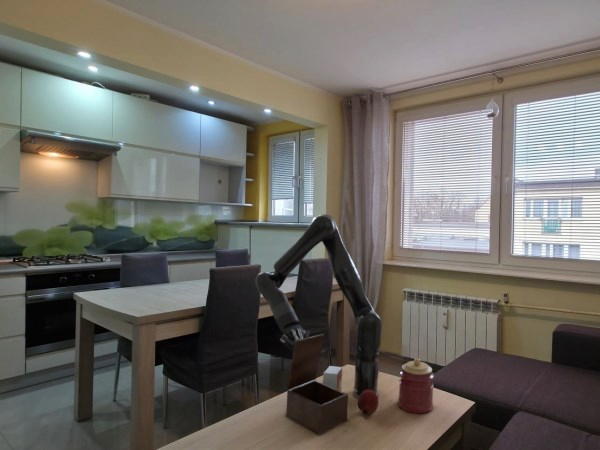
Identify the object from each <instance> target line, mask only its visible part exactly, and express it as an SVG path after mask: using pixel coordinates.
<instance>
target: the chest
mask: <svg viewBox="0 0 600 450" xmlns="http://www.w3.org/2000/svg"><path fill="white" fill-rule="evenodd" d="M286 394H287V395H286V414H285V416H286V417H287V418H289V419H290V420H292V421H294V422H296V423H298V424H300V425H301V426H303V427H305V428H307V429H309V430H310V431H312V432H314V433H315V434H317V435H322V434H324V433H326V432H327V431H330V430H331V429H333V428H336V427H337V426H339V425H341V424H342V423H344V422H346V421H348V407H349V405H348V404H349V394H348V393H347V392H344V391H342V390H341V391H339V390H337V389H335V388H332V387H330V386H328V385H325V384H323V382H321V381H318V380H316V379H315V380H312V381H309V382H307V383H304V384H301V385H299V386H296V387H293V388H291V389H287V393H286Z"/></svg>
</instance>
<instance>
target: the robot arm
mask: <svg viewBox="0 0 600 450" xmlns="http://www.w3.org/2000/svg"><path fill="white" fill-rule="evenodd" d="M321 243H322V244H323V246H324V248H325V250H326V254H327V256H328V260H329V265H330V268H331V272H332V274H333V276H334V278H335V281H336V284H337V285H338V287H339V289H340V290H341V292H342V294H343V295H344V297H345V299H346V300H347V301H348V303H349V305H350V308H351V310H352V313H353V316H354V319H355V322H356V325H357V342H356V345H355V365H354V382H353V383H354V384H353V385H354V386H353V396H354V397H355V398H356V399H358V398H359V396H360V395H361V393H362V392H363V391H365V390H372V391H374V392H375V393H376V395H377V396H378V385H379V383H378V382H379V363H380V348H381V344H382V342H381V341H382V329H383V328H382V327H383V325H382V323H383V322H382V319H381V317H380V316H379V315H378V313H377V312H376V311H375V309H374V308H373V306H372V304H371V302H370V301H369V299H368V297H367V295H366V291H365V289H364V284H363V281H362V279H361V278H362V277H361V276H360V273H359V271H358V269H357V267H356V265H355V263H354V261H353V259H352V257H351V255H350V253H349V252H348V249H347V247H346V246H345V244H344V242H343V240H342V237H341V234H340V231H339V229H338V225H337V223H336V220H335V218H333V217H332V215H330V214H326V213H324V214H323V213H322V214H320V215H317V216H315V217H314V218H313V219H312V220H311V223H310V224H309V226H308V227H307V229H306V230H305V231H304V232H303V234H302V235H301V237H300V238H299V239H297V241H296V242H295V243H293V245H292V246H290V248H288V249H287V250H286V251H284V253H283V254H282V255H281V256H280V257H279V258H278V259H277V260H276V261H275V262H274V264H273V269H274V270H273V272H272V273H271V272H267V271H262V272H259V273H257V275H256V277H255V281H254V282H255V287H256V289H257V291H258V292H259V293H260V294H261V296H262V297H263V298H264V299H265V301H266V302H267V303H268V306H269V308H270V310H271V313H272V315H273V318H274V320H275V322H276V324H277V326H278V329H279V331H280V332H281V338H280V339H279V343H280V344H282V345H284V346H285V347H286V348H288V349H290V351H291V350H292V351H294V348H295V342H296V341H297V340H300V339H304V338H308V337H310V330H308V329H307V330H305V329H303V327H302V326H301V325H300V320H299V318H298V316H297V314H296V312H295V310H294V308H293V306H292V305H291V304H290V302H289V300H288V298H287V295H286V294H285V293H284V291H282V290H280V288H281V287H282V286H283V284H284V283H285V281H286V280H287V277H288V276H289V275H290V274H291V272H292V271H294V269H295V268H296V267H298V265H300V263H301V262H302V261H303V260H304V258H305V257H306V256H307V255H308V254H309V253H310V252H311V251H312V250H313V249H314V248H315V247H316V246H318V245H319V244H321Z"/></svg>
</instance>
